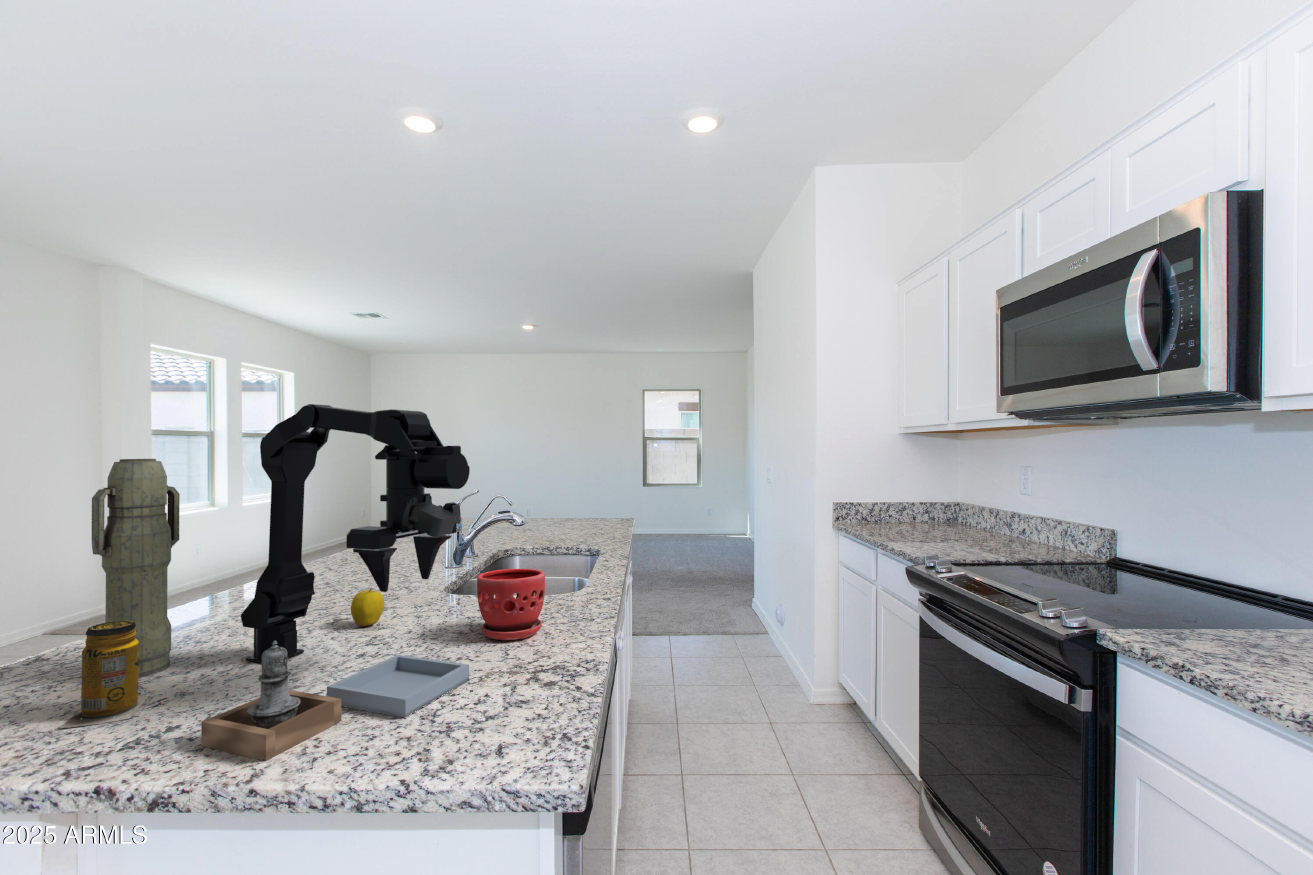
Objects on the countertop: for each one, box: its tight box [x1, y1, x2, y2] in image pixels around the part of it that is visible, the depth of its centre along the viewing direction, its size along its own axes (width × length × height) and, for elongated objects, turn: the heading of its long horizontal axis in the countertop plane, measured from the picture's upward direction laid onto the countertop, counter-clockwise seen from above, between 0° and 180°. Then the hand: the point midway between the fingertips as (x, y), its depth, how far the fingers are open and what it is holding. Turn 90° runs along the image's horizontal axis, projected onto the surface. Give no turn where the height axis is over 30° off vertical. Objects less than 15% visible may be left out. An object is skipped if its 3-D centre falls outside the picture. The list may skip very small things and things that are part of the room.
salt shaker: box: [247, 640, 301, 729], centre depth 79 cm, size 6×6×12 cm
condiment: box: [59, 620, 150, 729], centre depth 85 cm, size 7×8×12 cm
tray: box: [326, 654, 470, 718], centre depth 92 cm, size 14×14×2 cm
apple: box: [350, 587, 386, 627], centre depth 126 cm, size 6×6×8 cm
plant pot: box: [476, 568, 546, 641], centre depth 121 cm, size 13×13×12 cm
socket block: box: [200, 689, 342, 762], centre depth 79 cm, size 11×11×3 cm
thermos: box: [91, 458, 181, 678], centre depth 102 cm, size 9×12×35 cm
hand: (405, 585), depth 98 cm, fingers open, 9 cm apart
